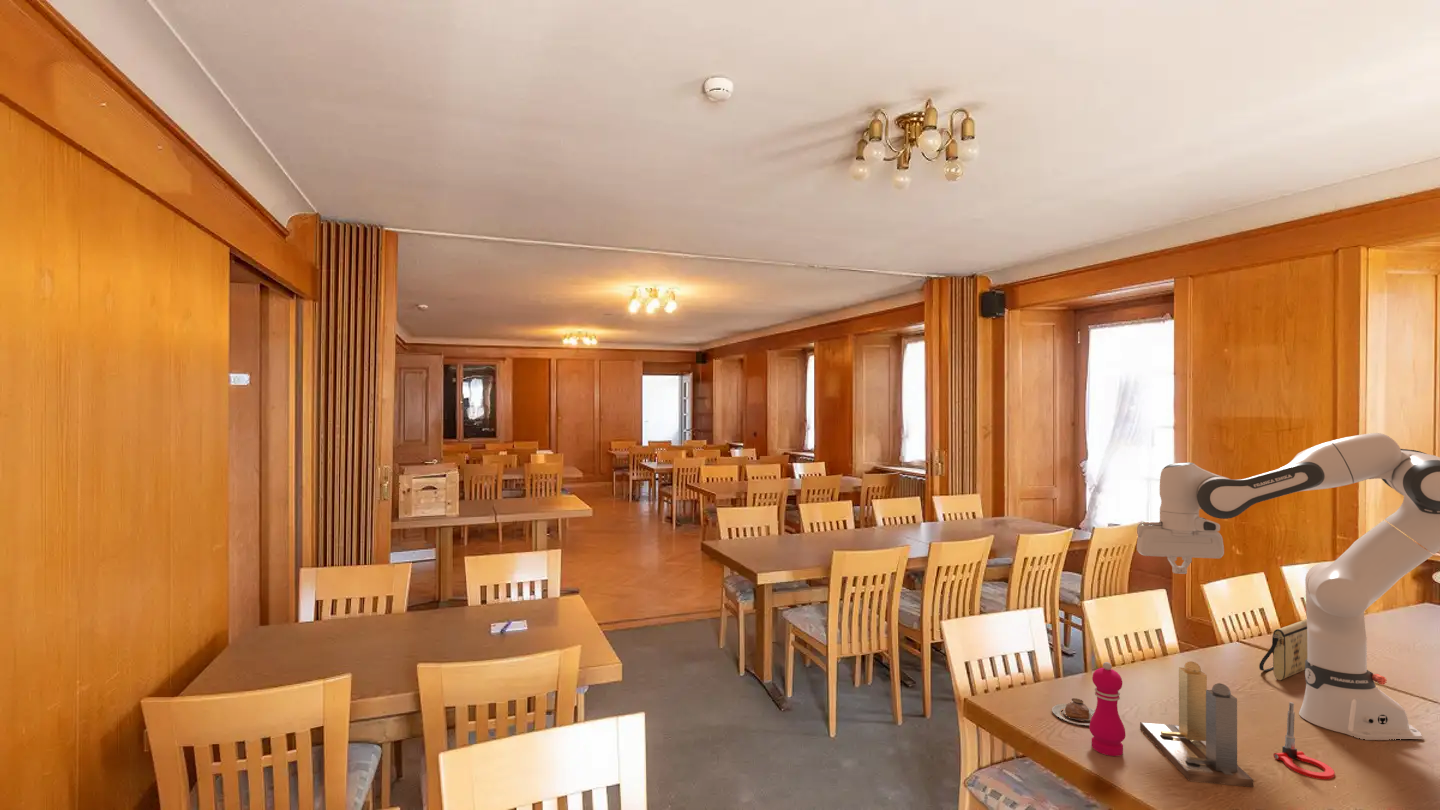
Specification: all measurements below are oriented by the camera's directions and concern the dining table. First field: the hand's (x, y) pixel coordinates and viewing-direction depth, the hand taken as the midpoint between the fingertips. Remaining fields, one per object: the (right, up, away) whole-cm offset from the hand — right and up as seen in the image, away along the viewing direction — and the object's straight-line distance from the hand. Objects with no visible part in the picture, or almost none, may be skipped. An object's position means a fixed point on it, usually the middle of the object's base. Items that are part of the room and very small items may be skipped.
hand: (1179, 573), depth 183 cm
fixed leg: (-20, -32, -38) cm, 54 cm away
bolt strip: (-20, -32, -30) cm, 48 cm away
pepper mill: (-36, -34, -28) cm, 57 cm away
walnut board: (-18, -34, -30) cm, 49 cm away
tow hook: (+4, -34, -36) cm, 49 cm away
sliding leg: (-18, -31, -26) cm, 44 cm away
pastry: (-34, -34, -11) cm, 49 cm away
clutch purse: (+47, -35, +21) cm, 62 cm away
